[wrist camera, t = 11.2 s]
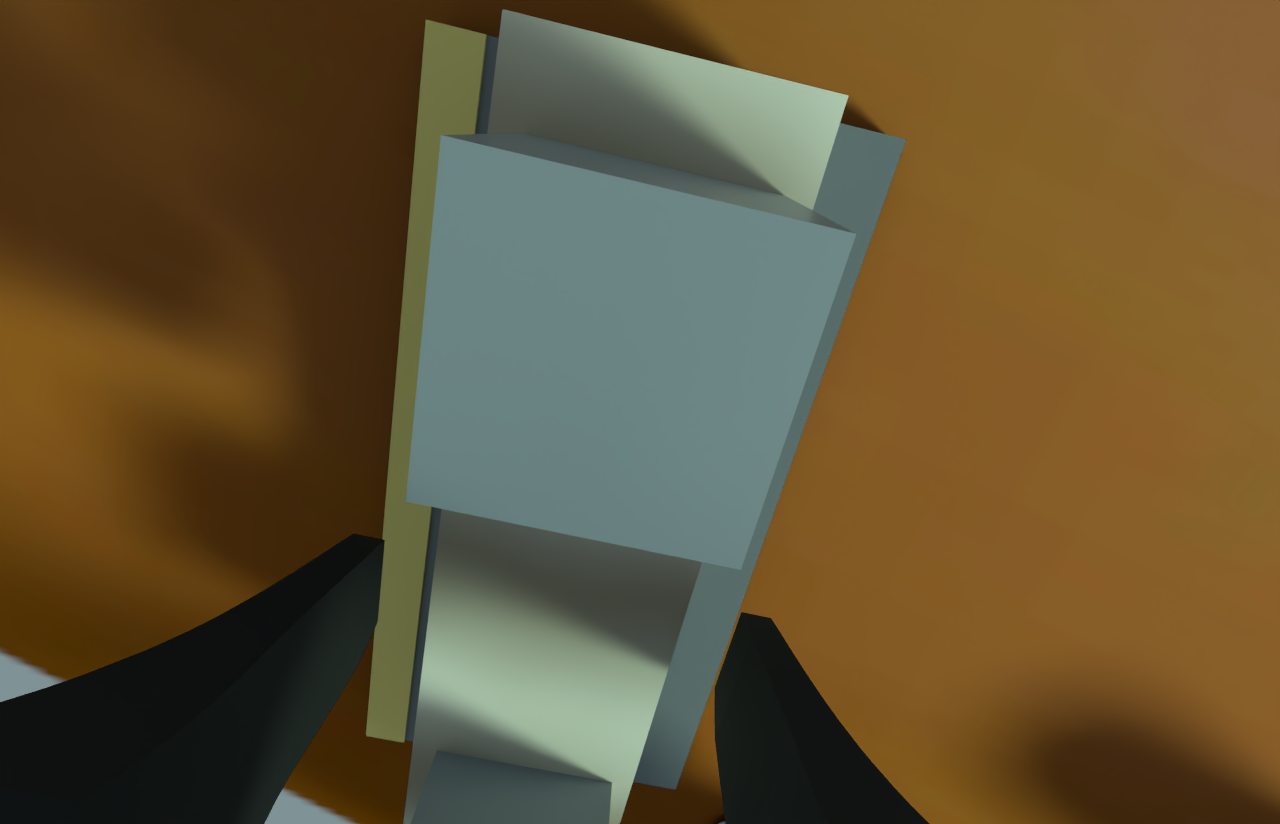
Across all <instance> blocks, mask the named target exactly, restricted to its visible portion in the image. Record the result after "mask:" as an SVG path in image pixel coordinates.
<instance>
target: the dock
mask: <svg viewBox="0 0 1280 824" xmlns="http://www.w3.org/2000/svg"><path fill="white" fill-rule="evenodd" d="M498 41H499V38H497V37H493V36H489V35H486V34H482V33H478V32H474V31H470V30H466V29H462V28H458V27H454V26H450V25H446V24H442V23H438V22H434V21H430V20H426V23H425V35H424V47H423V59H422V71H421V83H420V95H419V107H418V119H417V131H416V142H415V154H414V166H413V178H412V190H411V202H410V214H409V226H408V238H407V250H406V262H405V274H404V286H403V298H402V310H401V322H400V334H399V346H398V358H397V370H396V382H395V394H394V405H393V417H392V429H391V441H390V453H389V465H388V477H387V489H386V501H385V513H384V525H383V537H382V540H385V544H384V556H383V567H382V579H381V590H380V602H379V613H378V622H377V625H376V627H375V633H374V645H373V656H372V668H371V680H370V692H369V704H368V716H367V728H366V736H369V737H375V738H380V739H386V740H391V741H396V742H402V743H404V742H405V740H407V741H412V742H413V739H414V731H415V723H416V715H417V706H418V698H419V690H420V682H421V673H422V665H423V657H424V649H425V641H426V632H427V624H428V616H429V608H430V600H431V591H432V583H433V575H434V567H435V558H436V550H437V542H438V534H439V526H440V517H441V509H440V508H435V507H430V506H425V505H420V504H415V503H410V502H406V494H407V483H408V473H409V462H410V452H411V442H412V431H413V421H414V410H415V400H416V390H417V379H418V369H419V358H420V348H421V338H422V327H423V317H424V307H425V296H426V286H427V275H428V265H429V255H430V244H431V234H432V223H433V213H434V203H435V192H436V182H437V171H438V161H439V151H440V140H441V135H461V134H487V131H488V123H489V115H490V107H491V99H492V90H493V82H494V74H495V66H496V57H497V49H498ZM905 141H906V139H902V138H898V137H894V136H890V135H886V134H882V133H878V132H874V131H870V130H866V129H862V128H858V127H854V126H850V125H846V124H842V123H840V125H839V128H838V131H837V134H836V137H835V141H834V144H833V147H832V150H831V153H830V157H829V160H828V163H827V166H826V169H825V172H824V176H823V179H822V182H821V185H820V188H819V192H818V195H817V198H816V201H815V204H814V207H813V211H815V212H816V213H818V214H820V215H822V216H824V217H826V218H828V219H830V220H832V221H833V222H835V223H837V224H839V225H841V226H843V227H845V228H847V229H848V230H850V231H852V232H854V233H856V237H855V239H854V242H853V245H852V248H851V251H850V254H849V257H848V260H847V263H846V266H845V269H844V271H843V274H842V277H841V280H840V283H839V286H838V289H837V292H836V295H835V298H834V301H833V303H832V306H831V309H830V312H829V315H828V318H827V321H826V324H825V327H824V330H823V333H822V335H821V338H820V341H819V344H818V347H817V350H816V353H815V356H814V359H813V362H812V364H811V367H810V370H809V373H808V376H807V379H806V382H805V385H804V388H803V391H802V394H801V396H800V399H799V402H798V405H797V408H796V411H795V414H794V417H793V420H792V423H791V426H790V428H789V431H788V434H787V437H786V440H785V443H784V446H783V449H782V452H781V455H780V458H779V460H778V463H777V466H776V469H775V472H774V475H773V478H772V481H771V484H770V487H769V489H768V492H767V495H766V498H765V501H764V504H763V507H762V510H761V513H760V516H759V519H758V521H757V524H756V527H755V530H754V533H753V536H752V539H751V542H750V545H749V548H748V551H747V553H746V556H745V559H744V562H743V565H742V568H741V570H739V569H734V568H729V567H724V566H719V565H714V564H709V563H705V562H702V564H701V567H700V570H699V573H698V577H697V580H696V583H695V586H694V589H693V592H692V596H691V599H690V602H689V605H688V608H687V612H686V615H685V618H684V621H683V624H682V627H681V631H680V634H679V637H678V640H677V643H676V647H675V650H674V653H673V656H672V659H671V662H670V666H669V669H668V672H667V675H666V678H665V682H664V685H663V688H662V691H661V694H660V697H659V701H658V704H657V707H656V710H655V713H654V717H653V720H652V723H651V726H650V729H649V732H648V736H647V739H646V742H645V745H644V748H643V752H642V755H641V758H640V761H639V764H638V767H637V771H636V774H635V777H634V780H633V782H636V783H641V784H647V785H652V786H658V787H663V788H669V789H674V790H676V787H677V784H678V781H679V779H680V776H681V773H682V770H683V767H684V764H685V762H686V759H687V756H688V753H689V750H690V748H691V745H692V742H693V739H694V736H695V733H696V731H697V728H698V725H699V722H700V719H701V717H702V714H703V711H704V708H705V705H706V702H707V700H708V697H709V694H710V691H711V688H712V686H713V683H714V680H715V677H716V674H717V671H718V669H719V666H720V663H721V660H722V657H723V655H724V652H725V649H726V646H727V643H728V640H729V638H730V635H731V632H732V629H733V626H734V624H735V621H736V618H737V615H738V612H739V609H740V607H741V604H742V601H743V598H744V595H745V592H746V590H747V587H748V584H749V581H750V578H751V576H752V573H753V570H754V567H755V564H756V561H757V559H758V556H759V553H760V550H761V547H762V545H763V542H764V539H765V536H766V533H767V530H768V528H769V525H770V522H771V519H772V516H773V514H774V511H775V508H776V505H777V502H778V499H779V497H780V494H781V491H782V488H783V485H784V483H785V480H786V477H787V474H788V471H789V468H790V466H791V463H792V460H793V457H794V454H795V452H796V449H797V446H798V443H799V440H800V437H801V435H802V432H803V429H804V426H805V423H806V421H807V418H808V415H809V412H810V409H811V406H812V404H813V401H814V398H815V395H816V392H817V390H818V387H819V384H820V381H821V378H822V375H823V373H824V370H825V367H826V364H827V361H828V358H829V356H830V353H831V350H832V347H833V344H834V342H835V339H836V336H837V333H838V330H839V327H840V325H841V322H842V319H843V316H844V313H845V311H846V308H847V305H848V302H849V299H850V296H851V294H852V291H853V288H854V285H855V282H856V280H857V277H858V274H859V271H860V268H861V265H862V263H863V260H864V257H865V254H866V251H867V249H868V246H869V243H870V240H871V237H872V234H873V232H874V229H875V226H876V223H877V220H878V218H879V215H880V212H881V209H882V206H883V203H884V201H885V198H886V195H887V192H888V189H889V187H890V184H891V181H892V178H893V175H894V172H895V170H896V167H897V164H898V161H899V158H900V156H901V153H902V150H903V147H904V144H905Z"/></svg>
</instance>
